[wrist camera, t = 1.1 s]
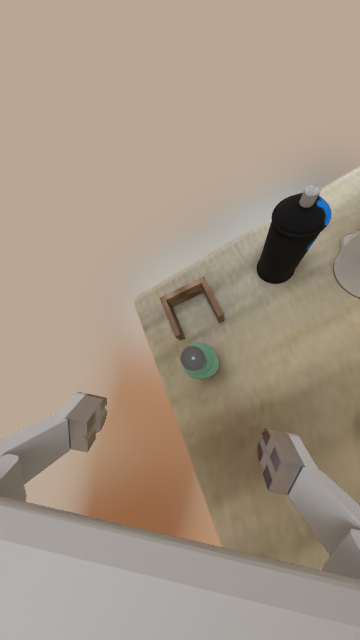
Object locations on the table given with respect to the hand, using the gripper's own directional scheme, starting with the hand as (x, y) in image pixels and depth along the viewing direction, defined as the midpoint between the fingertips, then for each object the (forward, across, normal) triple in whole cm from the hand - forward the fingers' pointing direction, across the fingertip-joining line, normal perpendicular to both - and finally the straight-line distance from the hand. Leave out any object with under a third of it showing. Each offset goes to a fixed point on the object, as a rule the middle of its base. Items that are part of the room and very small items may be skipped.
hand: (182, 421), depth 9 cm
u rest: (+36, 0, +4) cm, 36 cm away
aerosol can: (+40, -18, -9) cm, 45 cm away
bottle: (+29, -5, +14) cm, 33 cm away
